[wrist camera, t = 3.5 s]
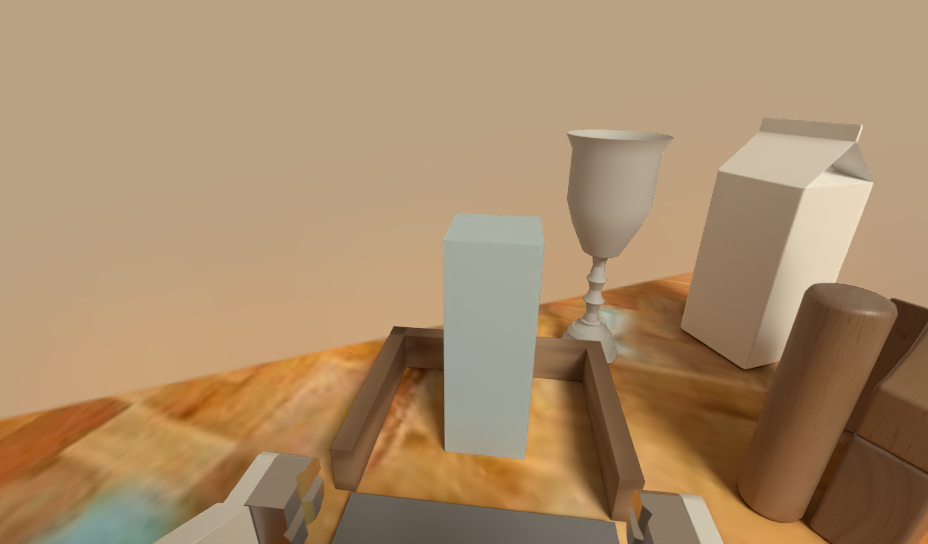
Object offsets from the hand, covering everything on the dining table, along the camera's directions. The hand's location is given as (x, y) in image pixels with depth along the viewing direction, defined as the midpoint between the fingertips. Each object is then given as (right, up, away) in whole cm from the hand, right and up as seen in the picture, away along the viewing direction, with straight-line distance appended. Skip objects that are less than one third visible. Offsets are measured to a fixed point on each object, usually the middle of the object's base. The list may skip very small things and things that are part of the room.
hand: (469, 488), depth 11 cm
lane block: (+1, -5, +18) cm, 19 cm away
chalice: (+11, -1, +27) cm, 29 cm away
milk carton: (+25, -1, +28) cm, 37 cm away
